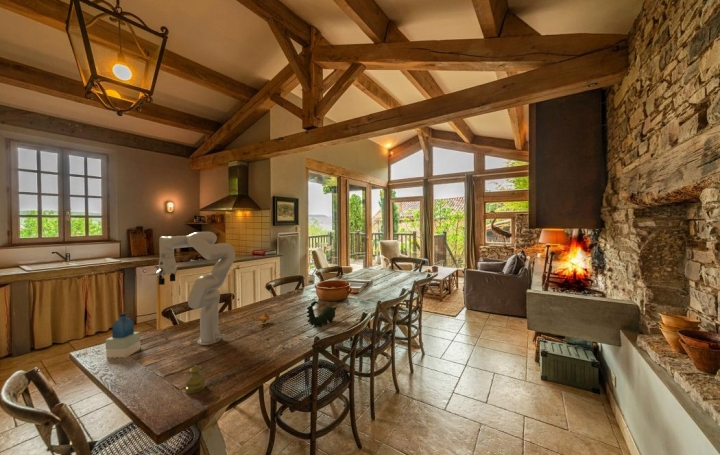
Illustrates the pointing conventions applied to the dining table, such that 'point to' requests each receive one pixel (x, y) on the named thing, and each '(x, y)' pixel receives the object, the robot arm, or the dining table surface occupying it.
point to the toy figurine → (326, 315)
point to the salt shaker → (195, 380)
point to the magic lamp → (263, 317)
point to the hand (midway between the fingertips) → (167, 282)
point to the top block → (122, 341)
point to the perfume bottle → (122, 327)
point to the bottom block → (123, 351)
